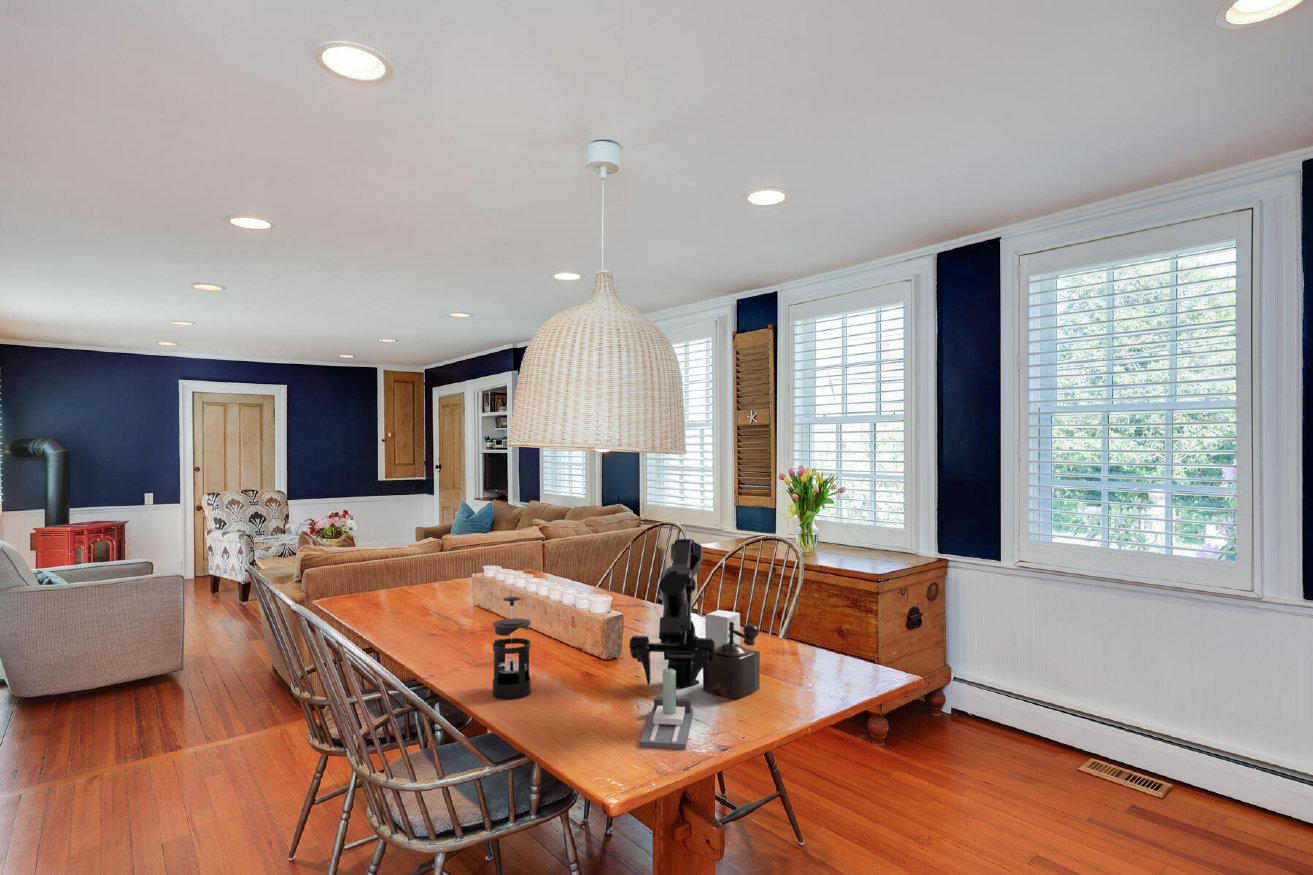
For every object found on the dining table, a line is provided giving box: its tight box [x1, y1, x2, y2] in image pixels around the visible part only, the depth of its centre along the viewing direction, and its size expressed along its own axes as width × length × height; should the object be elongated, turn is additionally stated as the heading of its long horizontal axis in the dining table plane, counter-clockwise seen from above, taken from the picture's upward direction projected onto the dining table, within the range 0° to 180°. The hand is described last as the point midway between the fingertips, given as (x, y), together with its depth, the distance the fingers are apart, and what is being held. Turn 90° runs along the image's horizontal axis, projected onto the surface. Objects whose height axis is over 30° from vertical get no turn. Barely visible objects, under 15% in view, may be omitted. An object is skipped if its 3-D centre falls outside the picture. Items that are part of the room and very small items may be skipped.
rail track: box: [639, 696, 694, 750], centre depth 146 cm, size 19×9×4 cm, turn 172°
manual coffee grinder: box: [702, 622, 761, 700], centre depth 168 cm, size 16×11×18 cm
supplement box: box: [704, 609, 741, 648], centre depth 196 cm, size 7×7×13 cm
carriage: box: [653, 668, 685, 725], centre depth 148 cm, size 7×6×10 cm
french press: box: [491, 596, 532, 701], centre depth 168 cm, size 12×9×23 cm
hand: (669, 684), depth 149 cm, fingers open, 9 cm apart
